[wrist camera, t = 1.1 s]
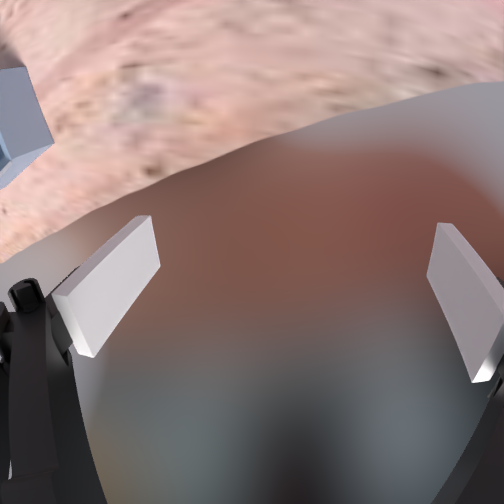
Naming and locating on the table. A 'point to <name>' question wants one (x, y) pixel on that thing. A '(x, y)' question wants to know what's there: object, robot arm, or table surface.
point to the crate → (20, 124)
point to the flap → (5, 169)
